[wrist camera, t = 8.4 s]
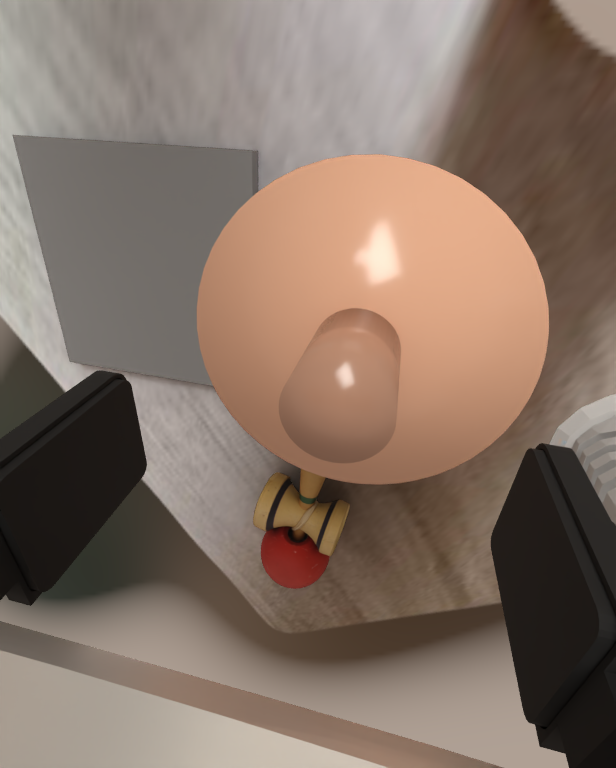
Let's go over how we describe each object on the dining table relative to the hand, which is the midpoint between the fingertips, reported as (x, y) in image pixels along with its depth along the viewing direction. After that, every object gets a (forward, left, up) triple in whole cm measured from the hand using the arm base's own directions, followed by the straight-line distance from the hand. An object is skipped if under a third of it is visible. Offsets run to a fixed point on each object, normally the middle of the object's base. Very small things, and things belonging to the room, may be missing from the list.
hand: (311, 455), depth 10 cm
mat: (+2, -16, -19) cm, 25 cm away
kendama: (+18, -3, -19) cm, 26 cm away
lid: (+1, 0, -9) cm, 9 cm away
